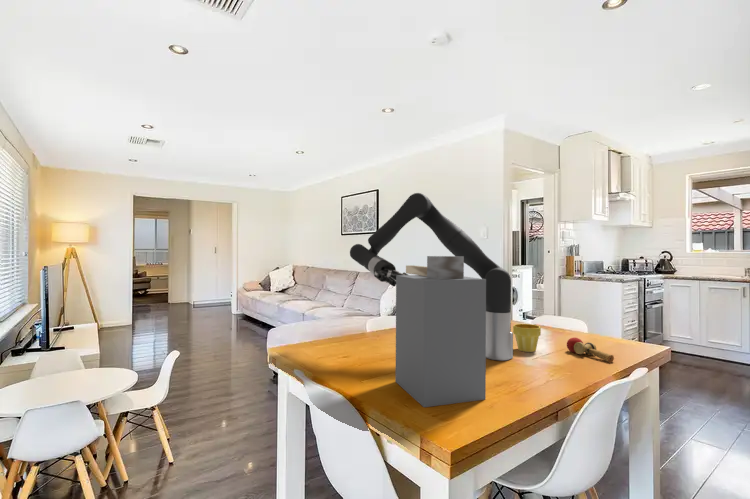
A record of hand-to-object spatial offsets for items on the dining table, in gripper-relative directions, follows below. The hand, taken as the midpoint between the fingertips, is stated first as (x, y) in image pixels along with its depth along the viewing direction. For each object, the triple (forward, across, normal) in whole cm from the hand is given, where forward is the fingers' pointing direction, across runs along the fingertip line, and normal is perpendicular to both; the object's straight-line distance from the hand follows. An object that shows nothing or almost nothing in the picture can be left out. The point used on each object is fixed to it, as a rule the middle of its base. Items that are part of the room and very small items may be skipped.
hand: (405, 284), depth 134 cm
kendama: (+35, +68, +11) cm, 77 cm away
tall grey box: (+33, -5, +19) cm, 38 cm away
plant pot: (+18, +56, +17) cm, 61 cm away
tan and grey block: (+16, -6, -9) cm, 20 cm away
